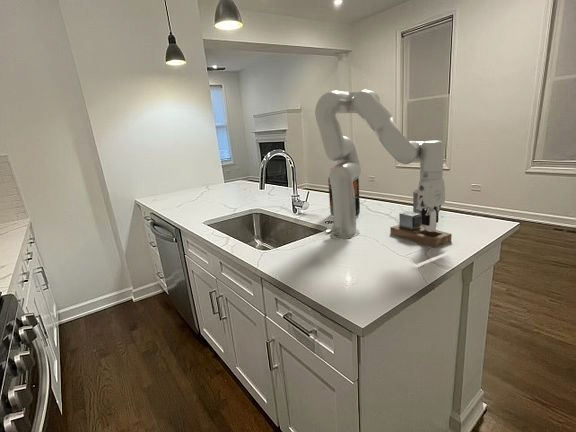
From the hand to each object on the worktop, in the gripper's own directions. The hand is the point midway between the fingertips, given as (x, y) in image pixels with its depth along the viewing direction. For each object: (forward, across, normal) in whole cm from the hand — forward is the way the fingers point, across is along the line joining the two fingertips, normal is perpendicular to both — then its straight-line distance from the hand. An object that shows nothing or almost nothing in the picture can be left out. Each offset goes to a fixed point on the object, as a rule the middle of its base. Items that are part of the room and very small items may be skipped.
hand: (429, 222), depth 120 cm
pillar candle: (+8, +24, +22) cm, 34 cm away
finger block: (+7, 0, +9) cm, 12 cm away
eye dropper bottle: (+3, 0, 0) cm, 3 cm away
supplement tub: (+8, +3, +55) cm, 55 cm away
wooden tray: (+8, 0, +5) cm, 9 cm away
